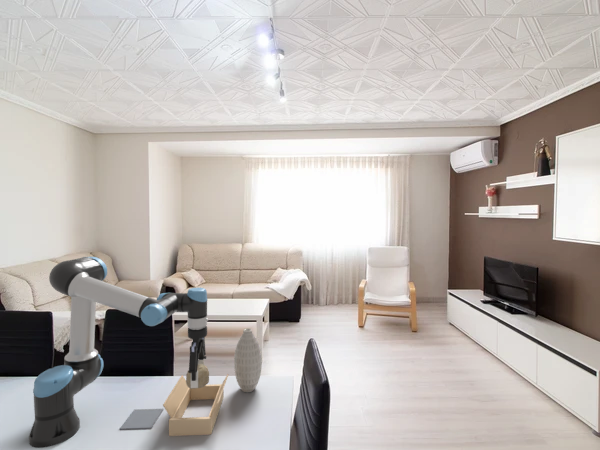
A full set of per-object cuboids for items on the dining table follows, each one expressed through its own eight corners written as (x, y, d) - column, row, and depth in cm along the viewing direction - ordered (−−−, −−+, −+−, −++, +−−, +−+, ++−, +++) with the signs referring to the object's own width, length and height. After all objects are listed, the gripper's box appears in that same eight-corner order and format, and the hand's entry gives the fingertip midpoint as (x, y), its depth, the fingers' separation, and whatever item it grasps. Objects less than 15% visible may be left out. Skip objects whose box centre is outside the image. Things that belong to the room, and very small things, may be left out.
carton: (162, 436, 119) (161, 406, 118) (183, 398, 143) (182, 373, 143) (218, 434, 120) (217, 404, 119) (229, 397, 144) (229, 372, 144)
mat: (119, 429, 123) (119, 428, 123) (134, 410, 135) (134, 409, 135) (151, 428, 123) (151, 427, 123) (163, 409, 135) (163, 408, 135)
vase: (259, 396, 144) (259, 334, 143) (231, 396, 144) (230, 334, 144) (263, 381, 157) (263, 325, 156) (237, 381, 157) (236, 325, 156)
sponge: (195, 399, 126) (208, 380, 125) (176, 383, 128) (189, 364, 126) (206, 386, 135) (219, 369, 134) (189, 372, 137) (201, 354, 135)
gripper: (199, 336, 120) (200, 395, 120) (212, 317, 141) (213, 368, 142) (179, 336, 119) (179, 396, 120) (195, 318, 141) (195, 368, 142)
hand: (197, 381), depth 131 cm, fingers closed on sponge, 9 cm apart
